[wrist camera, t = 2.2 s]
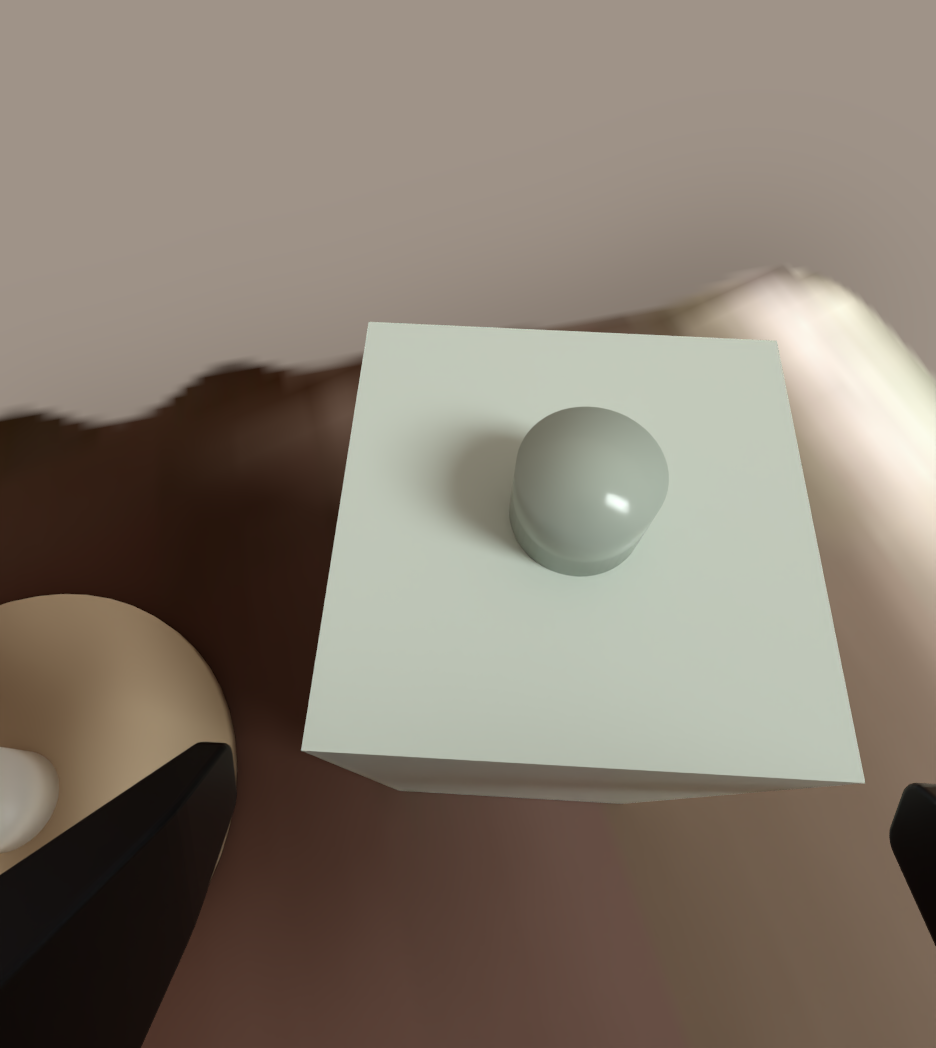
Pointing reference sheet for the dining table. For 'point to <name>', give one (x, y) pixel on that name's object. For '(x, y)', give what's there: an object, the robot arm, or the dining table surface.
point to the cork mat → (100, 699)
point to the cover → (577, 574)
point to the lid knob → (25, 796)
